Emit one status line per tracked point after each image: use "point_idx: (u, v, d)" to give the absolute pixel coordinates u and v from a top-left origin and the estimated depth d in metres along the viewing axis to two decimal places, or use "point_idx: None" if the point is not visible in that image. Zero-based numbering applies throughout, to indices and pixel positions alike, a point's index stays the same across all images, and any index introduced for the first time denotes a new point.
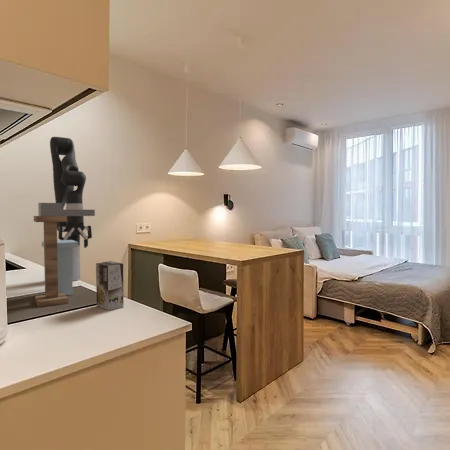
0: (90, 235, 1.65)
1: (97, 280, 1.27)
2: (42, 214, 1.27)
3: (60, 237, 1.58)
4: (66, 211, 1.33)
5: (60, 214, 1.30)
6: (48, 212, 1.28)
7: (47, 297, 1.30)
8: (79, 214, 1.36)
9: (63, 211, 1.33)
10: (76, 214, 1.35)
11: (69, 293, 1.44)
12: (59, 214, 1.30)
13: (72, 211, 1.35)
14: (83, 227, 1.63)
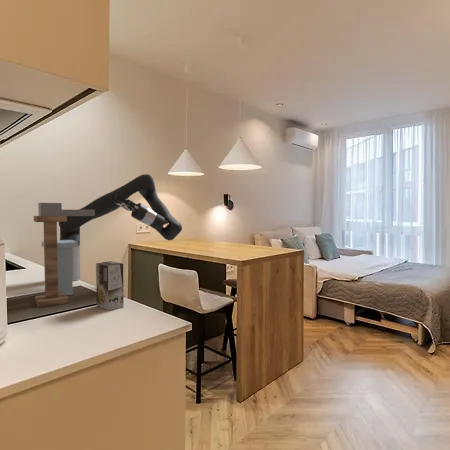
0: (118, 205, 1.62)
1: (97, 280, 1.27)
2: (42, 214, 1.27)
3: (127, 205, 1.51)
4: (66, 211, 1.33)
5: (60, 214, 1.30)
6: (48, 212, 1.28)
7: (47, 297, 1.30)
8: (79, 214, 1.36)
9: (63, 211, 1.33)
10: (76, 214, 1.35)
11: (69, 293, 1.44)
12: (59, 214, 1.30)
13: (72, 211, 1.35)
14: None
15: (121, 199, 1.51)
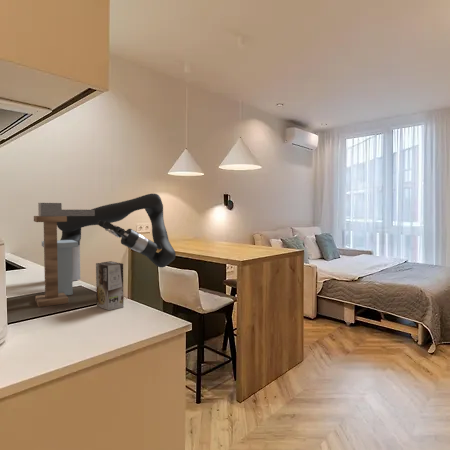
0: (107, 230, 1.50)
1: (97, 280, 1.27)
2: (42, 214, 1.27)
3: None
4: (66, 211, 1.33)
5: (60, 214, 1.30)
6: (48, 212, 1.28)
7: (47, 297, 1.30)
8: (79, 214, 1.36)
9: (63, 211, 1.33)
10: (76, 214, 1.35)
11: (69, 293, 1.44)
12: (59, 214, 1.30)
13: (72, 211, 1.35)
14: None
15: (110, 226, 1.39)
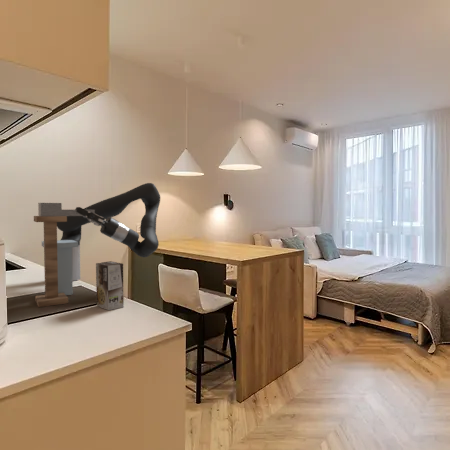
0: (85, 218, 1.43)
1: (97, 280, 1.27)
2: (42, 214, 1.27)
3: (89, 218, 1.36)
4: (66, 211, 1.33)
5: (60, 214, 1.30)
6: (48, 212, 1.28)
7: (47, 297, 1.30)
8: (79, 214, 1.36)
9: (63, 211, 1.33)
10: (76, 214, 1.35)
11: (69, 293, 1.44)
12: (59, 214, 1.30)
13: (72, 211, 1.35)
14: None
15: (83, 212, 1.36)
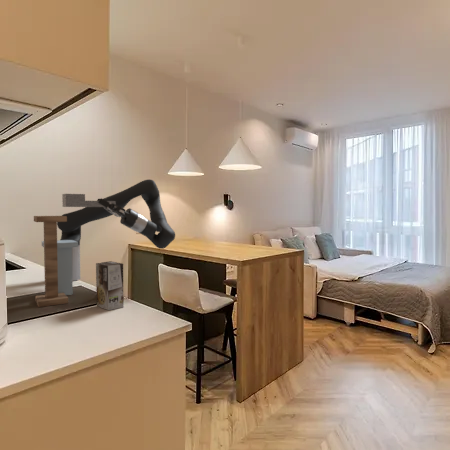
0: (106, 209, 1.48)
1: (97, 280, 1.27)
2: (67, 205, 1.32)
3: (111, 209, 1.41)
4: (89, 202, 1.39)
5: (84, 205, 1.36)
6: (72, 203, 1.33)
7: (47, 297, 1.30)
8: (101, 205, 1.41)
9: (86, 202, 1.38)
10: (98, 205, 1.41)
11: (69, 293, 1.44)
12: (83, 205, 1.35)
13: (95, 202, 1.40)
14: None
15: (105, 203, 1.41)
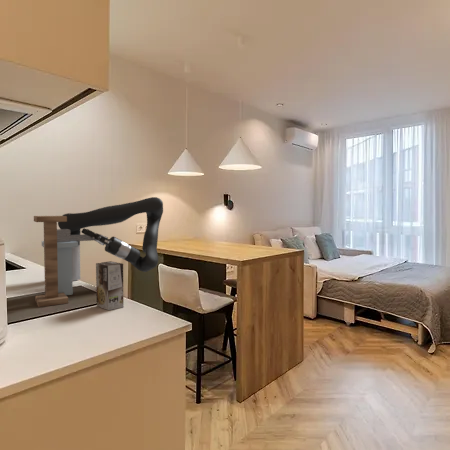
0: None
1: (97, 280, 1.27)
2: None
3: (96, 239, 1.48)
4: (74, 237, 1.47)
5: (69, 240, 1.44)
6: (58, 239, 1.41)
7: (47, 297, 1.30)
8: (86, 239, 1.49)
9: (72, 237, 1.46)
10: (83, 239, 1.49)
11: (69, 293, 1.44)
12: (68, 240, 1.44)
13: (80, 236, 1.48)
14: None
15: (91, 233, 1.48)
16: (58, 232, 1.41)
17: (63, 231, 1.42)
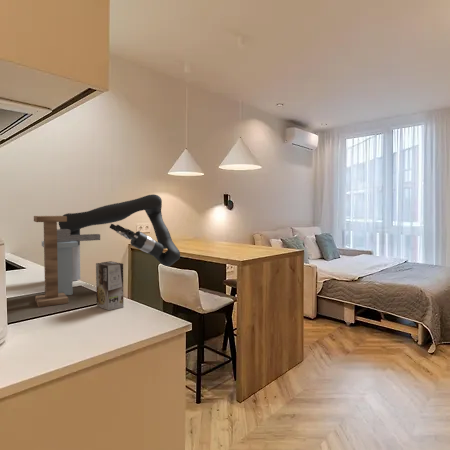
0: None
1: (97, 280, 1.27)
2: None
3: (126, 234, 1.54)
4: (74, 237, 1.47)
5: (69, 240, 1.44)
6: (58, 239, 1.41)
7: (47, 297, 1.30)
8: (86, 239, 1.49)
9: (72, 237, 1.46)
10: (83, 239, 1.49)
11: (69, 293, 1.44)
12: (68, 240, 1.44)
13: (80, 236, 1.48)
14: None
15: (121, 229, 1.54)
16: (58, 232, 1.41)
17: (63, 231, 1.42)
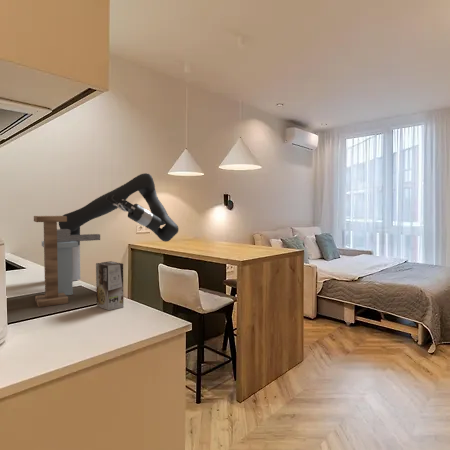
0: (115, 206, 1.62)
1: (97, 280, 1.27)
2: None
3: (123, 205, 1.51)
4: (74, 237, 1.47)
5: (69, 240, 1.44)
6: (58, 239, 1.41)
7: (47, 297, 1.30)
8: (86, 239, 1.49)
9: (72, 237, 1.46)
10: (83, 239, 1.49)
11: (69, 293, 1.44)
12: (68, 240, 1.44)
13: (80, 236, 1.48)
14: None
15: (118, 199, 1.50)
16: (58, 232, 1.41)
17: (63, 231, 1.42)
